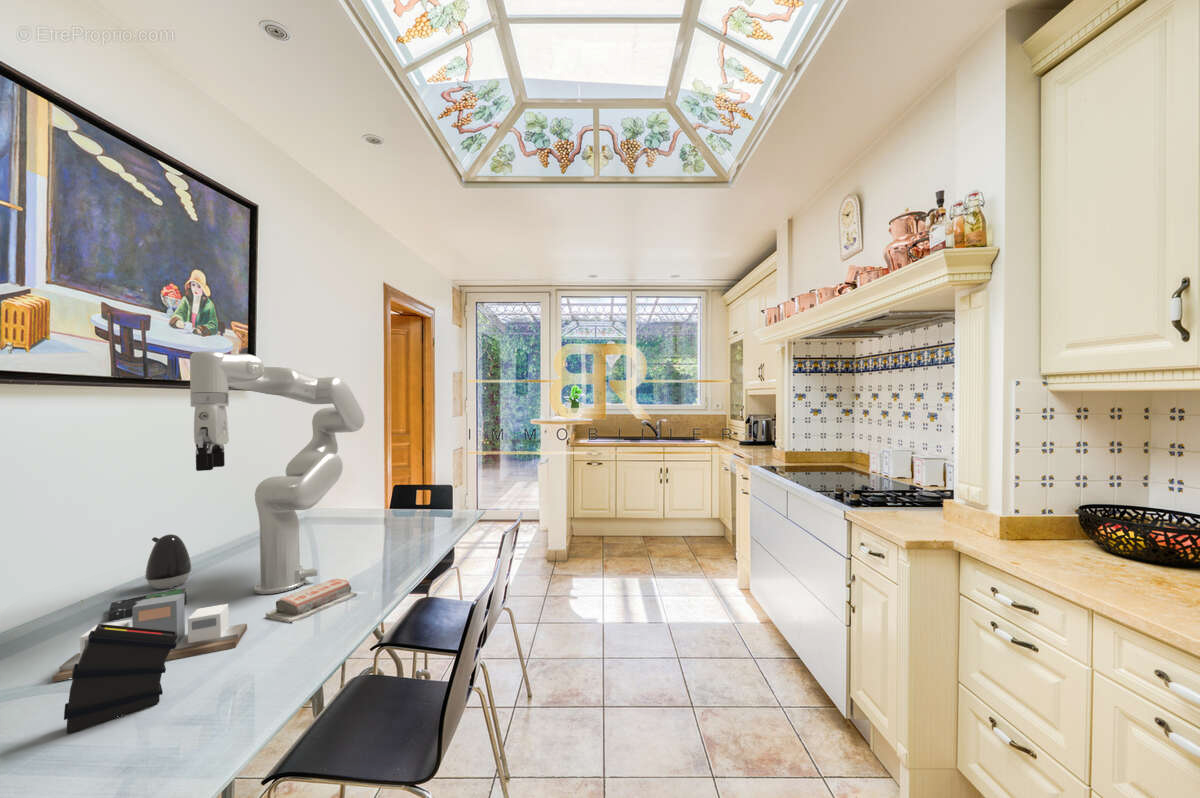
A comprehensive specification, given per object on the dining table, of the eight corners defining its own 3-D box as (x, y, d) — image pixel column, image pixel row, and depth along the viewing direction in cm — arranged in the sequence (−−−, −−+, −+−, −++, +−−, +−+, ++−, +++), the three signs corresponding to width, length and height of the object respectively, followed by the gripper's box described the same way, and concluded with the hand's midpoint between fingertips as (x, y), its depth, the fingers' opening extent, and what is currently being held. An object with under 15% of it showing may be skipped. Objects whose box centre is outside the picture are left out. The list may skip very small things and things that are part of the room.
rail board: (247, 628, 112) (246, 620, 112) (235, 647, 103) (235, 637, 103) (82, 658, 100) (82, 649, 100) (52, 682, 91) (52, 671, 91)
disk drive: (108, 625, 119) (187, 606, 129) (108, 613, 119) (187, 595, 129) (110, 613, 126) (185, 596, 136) (110, 602, 126) (185, 586, 136)
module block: (184, 635, 105) (184, 593, 105) (176, 644, 100) (176, 600, 101) (142, 643, 102) (142, 599, 102) (132, 652, 97) (131, 607, 98)
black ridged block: (35, 725, 75) (95, 622, 80) (142, 725, 83) (189, 632, 89) (34, 736, 72) (95, 629, 77) (143, 734, 81) (192, 638, 86)
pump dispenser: (171, 580, 150) (170, 530, 150) (200, 580, 148) (199, 530, 149) (135, 592, 140) (134, 539, 140) (166, 592, 138) (165, 539, 139)
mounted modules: (228, 626, 109) (228, 603, 109) (220, 637, 103) (219, 614, 103) (96, 649, 99) (96, 625, 100) (79, 663, 94) (79, 637, 94)
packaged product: (331, 575, 134) (357, 579, 130) (331, 593, 134) (357, 597, 130) (264, 599, 118) (291, 604, 114) (264, 619, 118) (292, 625, 114)
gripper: (218, 399, 116) (219, 470, 116) (237, 401, 132) (238, 464, 131) (178, 399, 113) (179, 473, 113) (202, 402, 129) (203, 466, 128)
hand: (210, 468), depth 122 cm, fingers open, 9 cm apart
